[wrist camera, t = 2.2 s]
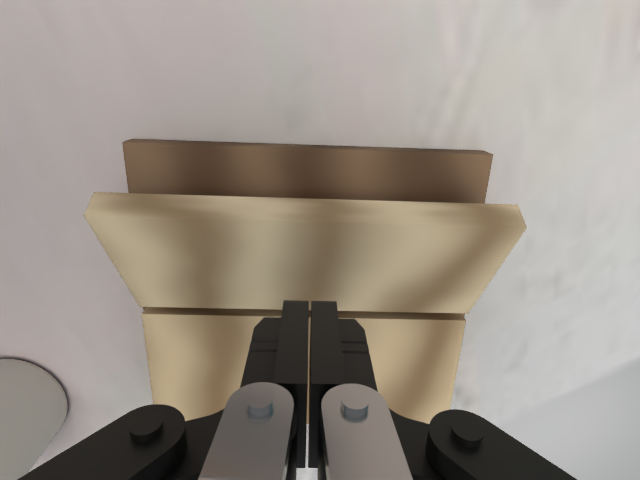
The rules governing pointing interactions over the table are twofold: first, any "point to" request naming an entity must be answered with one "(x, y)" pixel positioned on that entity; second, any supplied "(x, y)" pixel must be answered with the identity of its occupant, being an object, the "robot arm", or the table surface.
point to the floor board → (306, 171)
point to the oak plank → (303, 250)
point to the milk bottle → (27, 415)
